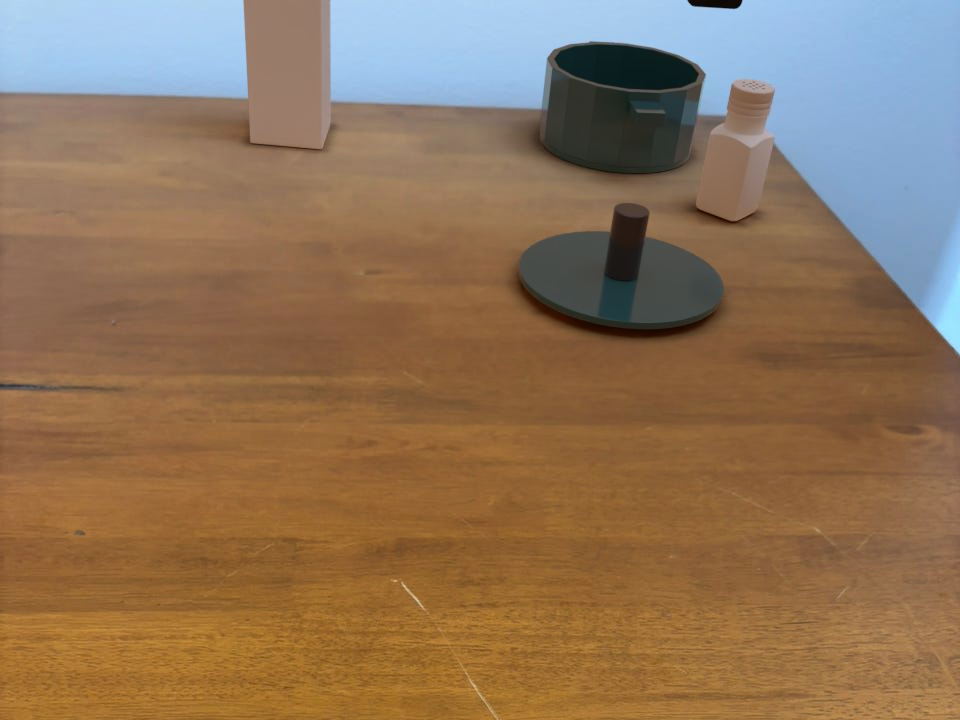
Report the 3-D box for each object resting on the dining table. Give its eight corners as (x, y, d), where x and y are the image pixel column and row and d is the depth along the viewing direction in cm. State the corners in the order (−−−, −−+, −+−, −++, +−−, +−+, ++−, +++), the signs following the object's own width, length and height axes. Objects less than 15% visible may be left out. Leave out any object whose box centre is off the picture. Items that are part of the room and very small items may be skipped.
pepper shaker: (691, 209, 94) (716, 83, 88) (717, 197, 96) (744, 73, 90) (734, 225, 92) (763, 98, 86) (760, 212, 95) (790, 87, 88)
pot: (661, 111, 111) (674, 36, 107) (716, 188, 98) (733, 106, 94) (523, 105, 109) (531, 29, 105) (560, 184, 96) (571, 100, 92)
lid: (689, 247, 89) (705, 171, 85) (746, 338, 78) (766, 257, 74) (503, 243, 86) (510, 166, 83) (536, 337, 76) (546, 253, 72)
